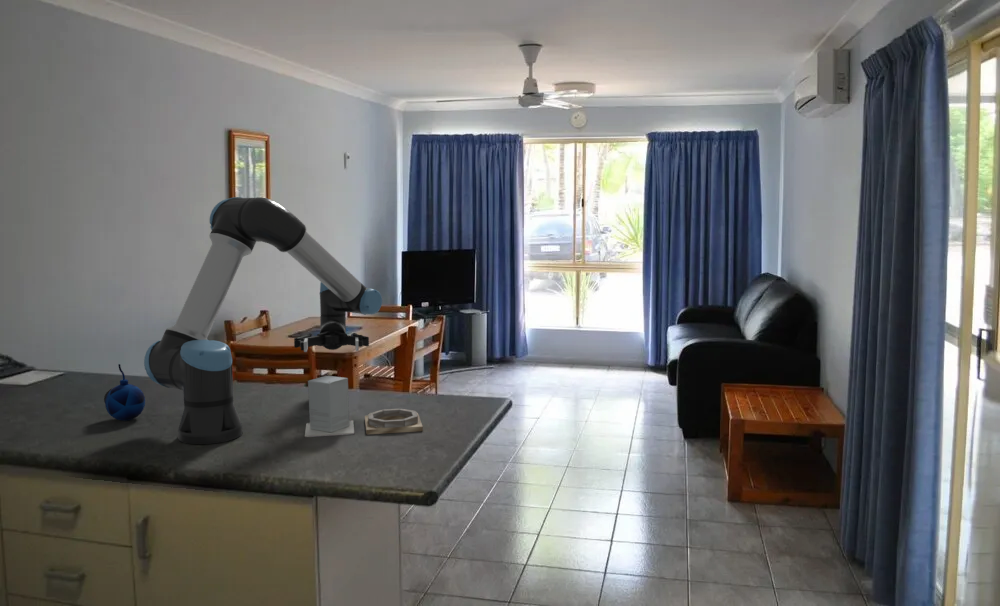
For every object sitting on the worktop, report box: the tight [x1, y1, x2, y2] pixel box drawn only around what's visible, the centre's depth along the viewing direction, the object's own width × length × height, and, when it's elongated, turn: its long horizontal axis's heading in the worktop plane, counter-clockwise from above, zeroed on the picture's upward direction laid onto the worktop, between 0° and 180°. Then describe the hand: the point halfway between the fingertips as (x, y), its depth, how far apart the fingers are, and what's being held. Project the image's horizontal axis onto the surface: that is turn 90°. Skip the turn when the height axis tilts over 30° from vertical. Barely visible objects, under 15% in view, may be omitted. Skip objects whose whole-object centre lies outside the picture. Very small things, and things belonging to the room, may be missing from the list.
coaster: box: [304, 419, 355, 438], centre depth 217 cm, size 12×12×1 cm
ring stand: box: [364, 408, 424, 435], centre depth 220 cm, size 14×14×3 cm
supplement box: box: [307, 375, 351, 432], centre depth 217 cm, size 7×7×13 cm
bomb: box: [103, 363, 146, 422], centre depth 228 cm, size 10×11×15 cm
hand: (331, 346), depth 229 cm, fingers open, 13 cm apart
